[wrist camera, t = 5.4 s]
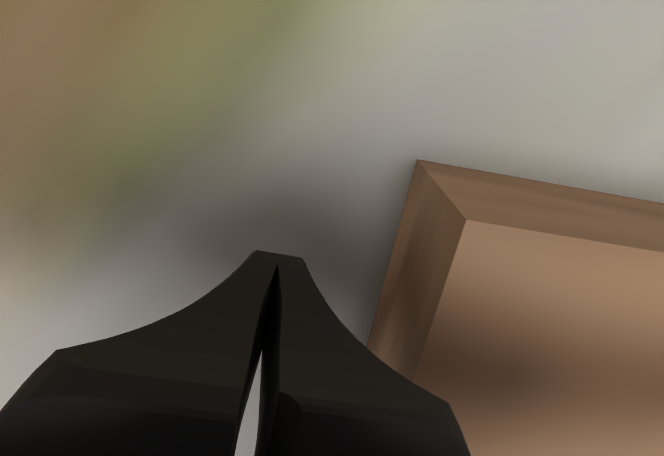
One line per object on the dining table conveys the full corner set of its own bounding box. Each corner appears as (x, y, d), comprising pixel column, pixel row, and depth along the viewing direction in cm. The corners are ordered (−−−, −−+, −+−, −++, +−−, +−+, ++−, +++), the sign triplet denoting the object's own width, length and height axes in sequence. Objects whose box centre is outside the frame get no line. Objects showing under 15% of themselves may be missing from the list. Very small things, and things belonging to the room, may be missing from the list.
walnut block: (604, 393, 18) (708, 522, 13) (360, 362, 17) (378, 491, 12) (706, 209, 15) (889, 292, 10) (415, 157, 14) (468, 222, 9)
